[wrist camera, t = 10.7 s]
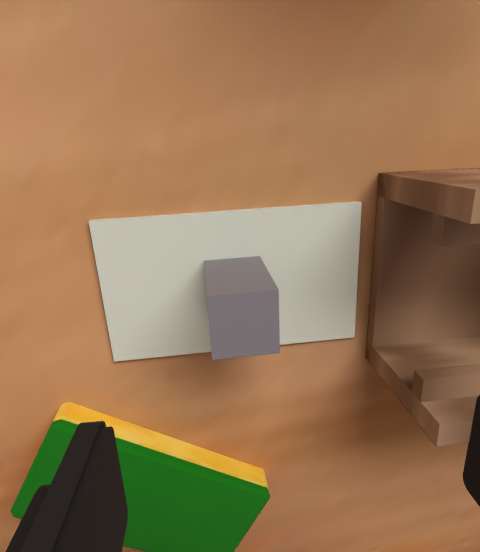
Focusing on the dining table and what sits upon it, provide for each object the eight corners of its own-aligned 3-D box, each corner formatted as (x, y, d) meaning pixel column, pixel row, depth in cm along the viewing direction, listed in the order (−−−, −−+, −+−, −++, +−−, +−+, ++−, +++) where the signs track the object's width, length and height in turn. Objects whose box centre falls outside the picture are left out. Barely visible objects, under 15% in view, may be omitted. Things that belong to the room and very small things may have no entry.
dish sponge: (218, 538, 28) (220, 573, 26) (24, 483, 25) (7, 517, 23) (266, 465, 27) (273, 495, 24) (66, 395, 23) (52, 422, 21)
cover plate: (356, 199, 21) (410, 221, 16) (349, 331, 24) (394, 387, 19) (92, 218, 20) (55, 248, 15) (116, 354, 23) (92, 421, 17)
